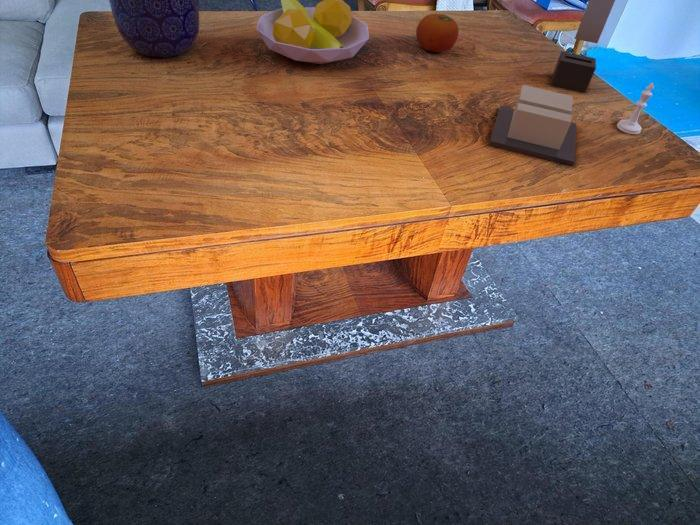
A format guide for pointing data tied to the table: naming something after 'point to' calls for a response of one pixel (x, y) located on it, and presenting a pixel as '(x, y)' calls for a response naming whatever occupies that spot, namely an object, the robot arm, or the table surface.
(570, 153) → the cake board
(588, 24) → the knife
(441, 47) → the fruit
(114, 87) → the table surface
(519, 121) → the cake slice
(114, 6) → the planter
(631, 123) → the chess piece
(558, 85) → the knife block
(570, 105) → the cake
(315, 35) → the fruit bowl
